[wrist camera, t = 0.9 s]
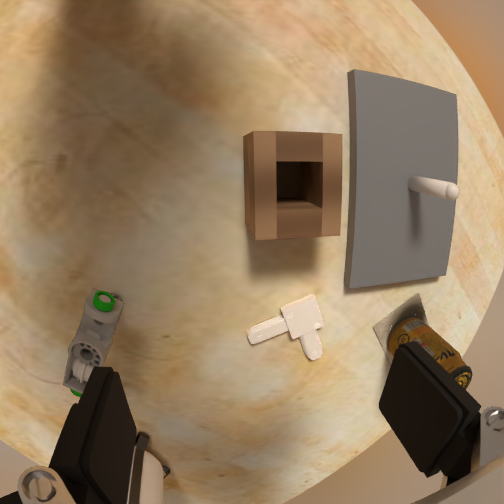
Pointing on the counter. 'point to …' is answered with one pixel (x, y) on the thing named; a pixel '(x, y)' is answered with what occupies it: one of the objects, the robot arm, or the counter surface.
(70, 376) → the mechanical component
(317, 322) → the corner connector
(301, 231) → the hollow block
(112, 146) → the counter surface
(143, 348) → the counter surface
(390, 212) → the pin board
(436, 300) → the counter surface
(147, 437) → the coffee press
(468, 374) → the condiment
